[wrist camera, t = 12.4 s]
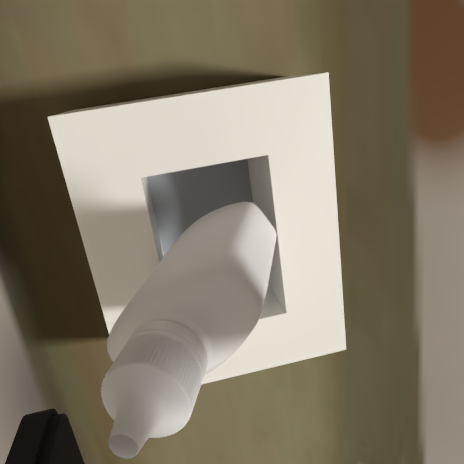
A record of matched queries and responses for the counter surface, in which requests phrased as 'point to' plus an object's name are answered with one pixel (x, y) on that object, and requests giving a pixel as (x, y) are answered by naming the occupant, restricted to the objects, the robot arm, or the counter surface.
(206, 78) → the counter surface
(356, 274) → the counter surface
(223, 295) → the eye dropper bottle
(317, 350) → the keyed holder
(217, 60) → the counter surface
